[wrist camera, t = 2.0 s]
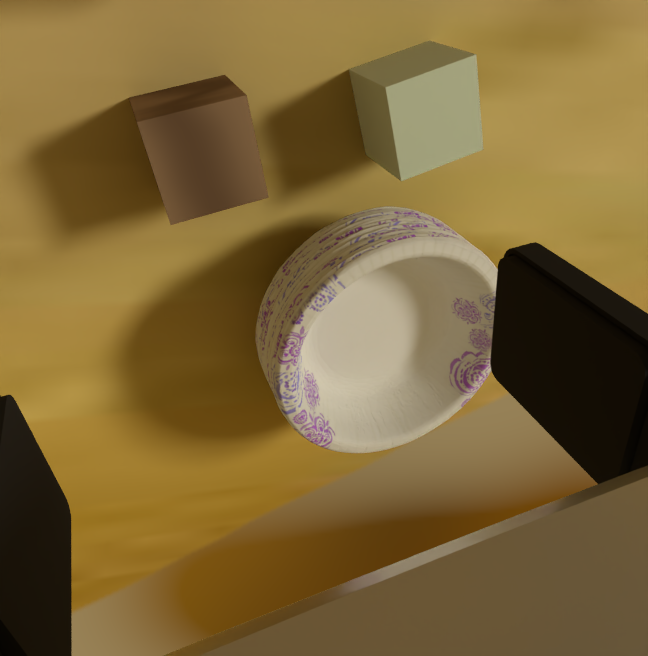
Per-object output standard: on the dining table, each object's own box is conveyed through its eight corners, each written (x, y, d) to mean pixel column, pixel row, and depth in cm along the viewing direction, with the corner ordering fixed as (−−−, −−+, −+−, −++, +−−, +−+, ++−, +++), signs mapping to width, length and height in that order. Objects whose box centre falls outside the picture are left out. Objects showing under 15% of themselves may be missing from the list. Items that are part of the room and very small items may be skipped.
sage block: (428, 40, 34) (476, 54, 30) (438, 126, 37) (483, 149, 33) (348, 69, 33) (385, 87, 29) (365, 154, 36) (401, 181, 32)
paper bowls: (460, 333, 47) (521, 395, 40) (281, 414, 45) (316, 492, 38) (433, 151, 37) (506, 194, 31) (207, 244, 36) (236, 310, 29)
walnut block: (224, 74, 31) (246, 95, 27) (245, 166, 34) (268, 197, 30) (128, 97, 30) (136, 122, 26) (159, 190, 33) (170, 224, 29)
